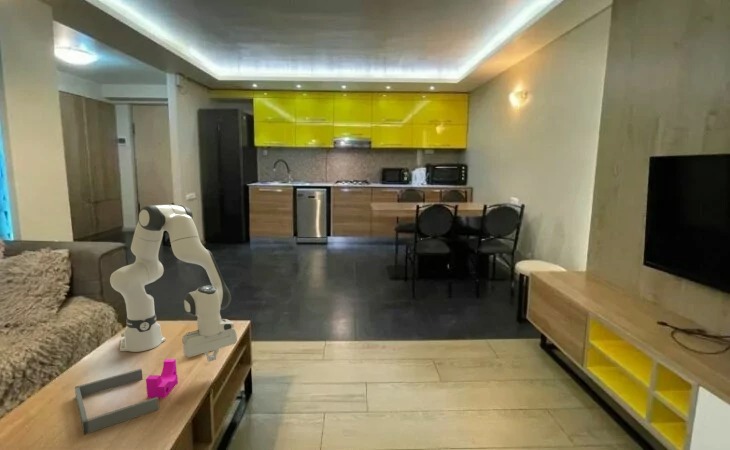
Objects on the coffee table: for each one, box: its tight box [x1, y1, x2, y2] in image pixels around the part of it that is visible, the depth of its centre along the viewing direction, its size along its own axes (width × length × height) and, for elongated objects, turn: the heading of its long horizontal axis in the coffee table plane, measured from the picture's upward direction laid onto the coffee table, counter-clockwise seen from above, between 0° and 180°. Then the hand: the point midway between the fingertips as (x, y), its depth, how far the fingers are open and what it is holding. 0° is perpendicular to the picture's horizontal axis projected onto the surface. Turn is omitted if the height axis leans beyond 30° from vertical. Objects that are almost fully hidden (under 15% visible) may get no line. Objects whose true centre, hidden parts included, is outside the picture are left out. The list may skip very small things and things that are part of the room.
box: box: [74, 368, 160, 435], centre depth 143 cm, size 26×21×4 cm
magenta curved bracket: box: [145, 358, 179, 399], centre depth 153 cm, size 15×6×8 cm, turn 0°
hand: (211, 360), depth 162 cm, fingers closed
